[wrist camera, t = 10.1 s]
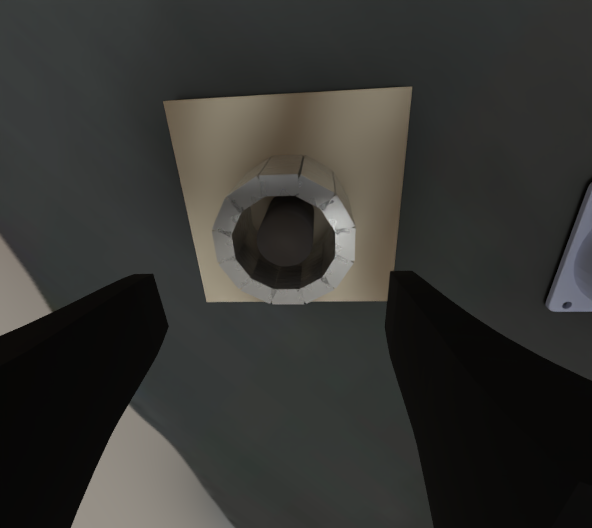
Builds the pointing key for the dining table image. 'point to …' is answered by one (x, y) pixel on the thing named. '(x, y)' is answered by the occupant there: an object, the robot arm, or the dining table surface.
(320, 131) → the post stand
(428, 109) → the dining table surface
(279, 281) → the steel ring
